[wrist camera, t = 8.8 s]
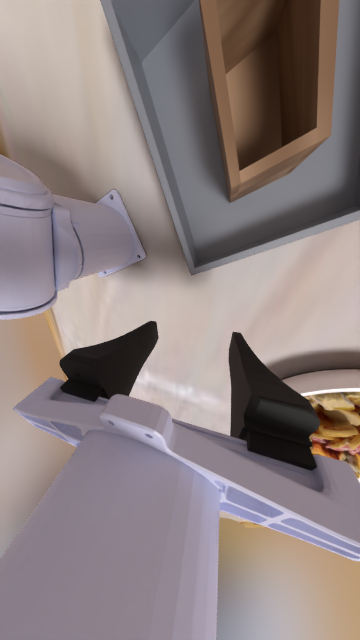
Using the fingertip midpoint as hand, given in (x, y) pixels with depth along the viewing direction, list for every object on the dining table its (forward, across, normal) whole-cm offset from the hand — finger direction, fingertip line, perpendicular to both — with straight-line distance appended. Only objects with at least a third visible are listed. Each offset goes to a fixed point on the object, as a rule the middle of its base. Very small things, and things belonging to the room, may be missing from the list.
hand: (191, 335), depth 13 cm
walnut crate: (+9, -3, -15) cm, 18 cm away
